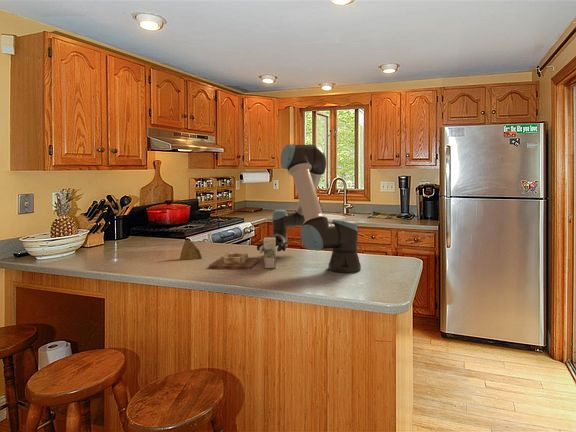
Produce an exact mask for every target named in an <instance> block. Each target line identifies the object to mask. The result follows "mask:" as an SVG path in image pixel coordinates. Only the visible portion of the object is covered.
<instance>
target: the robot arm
mask: <svg viewBox="0 0 576 432" xmlns="http://www.w3.org/2000/svg"><path fill="white" fill-rule="evenodd" d="M280 166H281V167H282V169H283V170H284V169H285V170H287V172H288V175H289V176H291V177H292V179H293V182H294V186H295V189H296V194H297V196H298V197H297V198H298V202H297V205H296V209H295V212H287V210H286V209H275V210H273V211H272V236H271V237H275V238H276V247H275V248H274V250H275V254H276V255H277V254H278V253H279V252H285V251H286V249H287V248H288V237H289V236H288V234H287V230H288V229H287V228H292V227H293V228H294V227H301V229H300V239H301V242H302V244H303V246H304V247H305V248H306V249H307V250H309V251H322V250H330V249H331V255H330V259H329V262H328V271H331V272H334V273H341V274H342V273H344V274H347V273H348V274H349V273H357V272H359V271H362V265H361V262H360V257H359V255H358V232H359V229H358V224H357V222H355V221H353V220H352V221H351V220H346V219H345V220H344V219H339V218H338V219H336V218H334V219H332V222H330V223H329V220H328V217H327V216H325V215H324V214H323V211H322V208H321V205H320V201H319V198H318V194H317V191H318V187H319V184H320V181H321V178H322V175H324V174H325V172H326V168H327V157H326V155H325V152H324V151H323V148H321V147H319V146H318V145H316V144H295V143H293V144H292V143H291V144H290V143H289V144H286V145H284V147H283V148H282V149H281V154H280ZM256 250H257V251H259V252H258V253H259V254H260V255H261V254H263V253H264V241H260V242H259V243H258V244H257V245H256Z"/></svg>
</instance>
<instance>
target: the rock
mask: <svg viewBox="0 0 576 432" xmlns="http://www.w3.org/2000/svg"><path fill="white" fill-rule="evenodd" d="M197 259H202V254H201V251H200V249H198V248H197V246H196V245H195V244H194V242H192V241H191V240H188V239H185V241H184V243H183V245H182V248H181V252H180V256H179V261H188V260H189V261H190V260H197Z"/></svg>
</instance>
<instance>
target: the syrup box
mask: <svg viewBox="0 0 576 432" xmlns="http://www.w3.org/2000/svg"><path fill="white" fill-rule="evenodd" d="M263 242H264V251H263V268H264V269H265V270H266V269H276V268H277V254H275V250H274V248H275V247H276V238H275V237H272V236H264V237H263Z"/></svg>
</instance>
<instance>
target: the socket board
mask: <svg viewBox="0 0 576 432" xmlns="http://www.w3.org/2000/svg"><path fill="white" fill-rule="evenodd" d="M248 255H249V254H248V253H245V252H244V253H243V252H242V253H241V252H240V253H239V252H227V253H226V254H224V255H223V256H220V257H219V258H217V259H215V261H213V262H212V263H210V264H209V265H208V269H212V270H213V269H214V270H217V269H218V270H241V269H250V270H251V269H252V268H253V267H254V266H256V265H257V263H258V262H260V257H253V256H252V257H251V256H250V257H249V256H248Z"/></svg>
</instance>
